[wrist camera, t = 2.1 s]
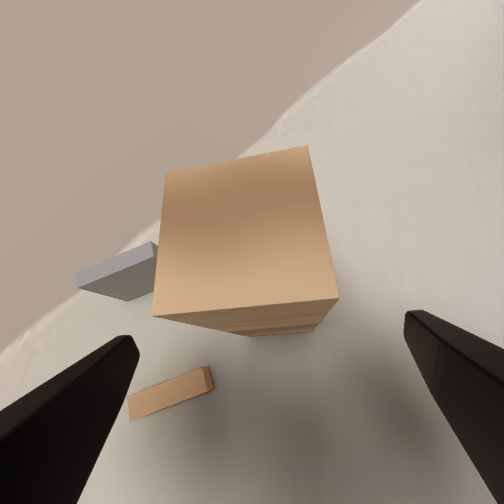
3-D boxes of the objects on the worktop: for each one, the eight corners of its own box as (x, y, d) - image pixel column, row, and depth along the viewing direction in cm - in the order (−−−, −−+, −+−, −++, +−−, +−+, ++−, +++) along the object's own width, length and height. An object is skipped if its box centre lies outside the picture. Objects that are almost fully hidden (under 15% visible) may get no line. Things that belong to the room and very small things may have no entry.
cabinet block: (312, 331, 17) (339, 297, 5) (248, 336, 17) (151, 315, 6) (302, 270, 18) (307, 145, 7) (245, 276, 19) (165, 172, 8)
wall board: (213, 388, 16) (180, 404, 12) (141, 416, 17) (81, 442, 12) (183, 264, 21) (150, 241, 16) (125, 288, 21) (77, 272, 16)
